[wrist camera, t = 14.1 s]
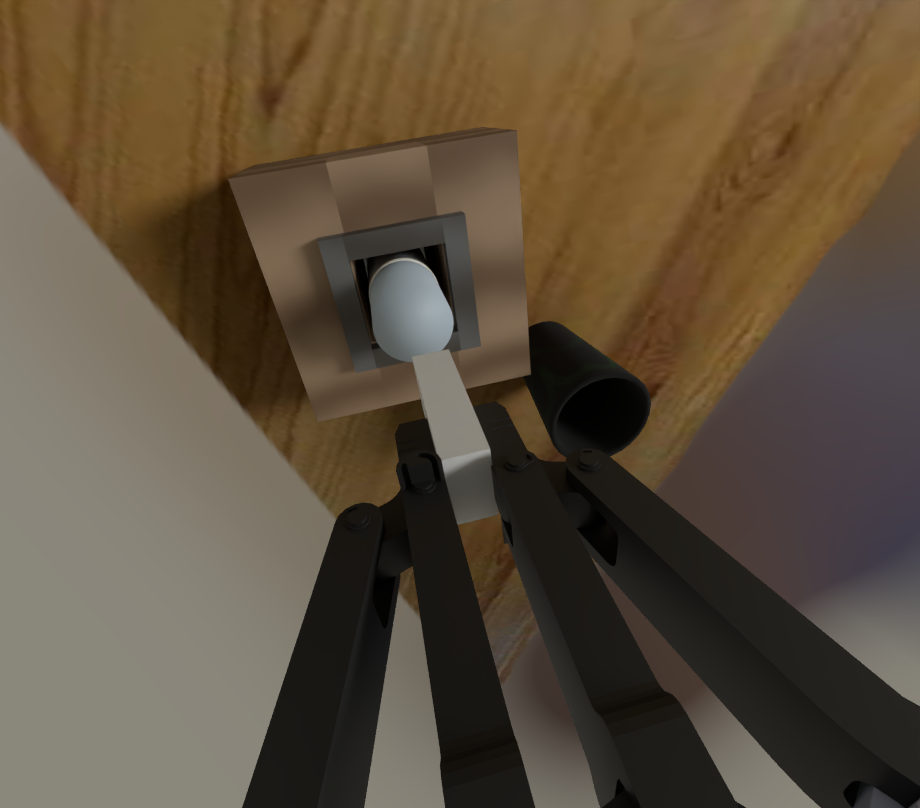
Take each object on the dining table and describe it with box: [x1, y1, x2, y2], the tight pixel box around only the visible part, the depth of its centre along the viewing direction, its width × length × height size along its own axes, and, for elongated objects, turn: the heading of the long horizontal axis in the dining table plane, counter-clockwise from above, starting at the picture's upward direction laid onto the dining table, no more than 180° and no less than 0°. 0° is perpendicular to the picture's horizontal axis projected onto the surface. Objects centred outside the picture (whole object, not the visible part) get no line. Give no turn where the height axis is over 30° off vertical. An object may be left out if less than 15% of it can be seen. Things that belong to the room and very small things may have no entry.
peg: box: [367, 248, 454, 362], centre depth 30 cm, size 4×4×12 cm
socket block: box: [228, 127, 531, 422], centre depth 33 cm, size 16×16×9 cm
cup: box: [523, 321, 651, 458], centre depth 39 cm, size 8×8×12 cm
